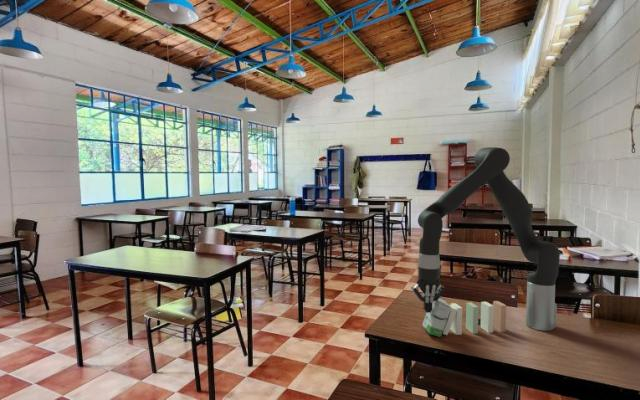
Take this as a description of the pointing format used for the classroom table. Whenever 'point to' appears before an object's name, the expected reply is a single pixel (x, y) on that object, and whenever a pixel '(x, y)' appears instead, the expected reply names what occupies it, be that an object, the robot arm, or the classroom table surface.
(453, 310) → the domino
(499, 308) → the domino end
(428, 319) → the ink box
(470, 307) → the domino
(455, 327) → the domino
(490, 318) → the domino
